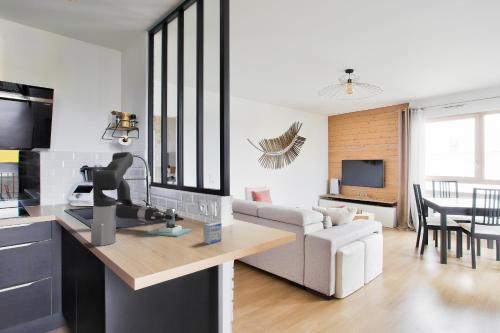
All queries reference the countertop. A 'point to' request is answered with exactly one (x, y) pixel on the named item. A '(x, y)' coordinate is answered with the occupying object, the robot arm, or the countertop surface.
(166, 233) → the housing tray
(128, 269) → the countertop surface
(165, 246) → the countertop surface
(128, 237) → the countertop surface
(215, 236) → the medicine box
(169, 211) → the metal hub
